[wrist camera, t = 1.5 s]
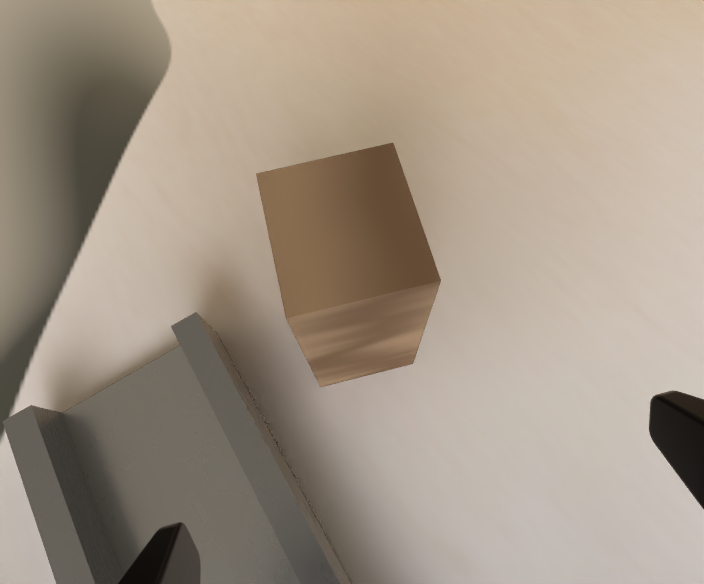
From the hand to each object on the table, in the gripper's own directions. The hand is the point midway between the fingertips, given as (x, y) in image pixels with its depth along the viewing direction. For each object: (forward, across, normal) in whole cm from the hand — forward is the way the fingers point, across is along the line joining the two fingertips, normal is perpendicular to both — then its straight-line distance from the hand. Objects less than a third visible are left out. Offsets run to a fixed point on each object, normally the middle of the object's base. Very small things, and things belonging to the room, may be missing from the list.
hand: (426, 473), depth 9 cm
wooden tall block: (+14, 0, +4) cm, 15 cm away
